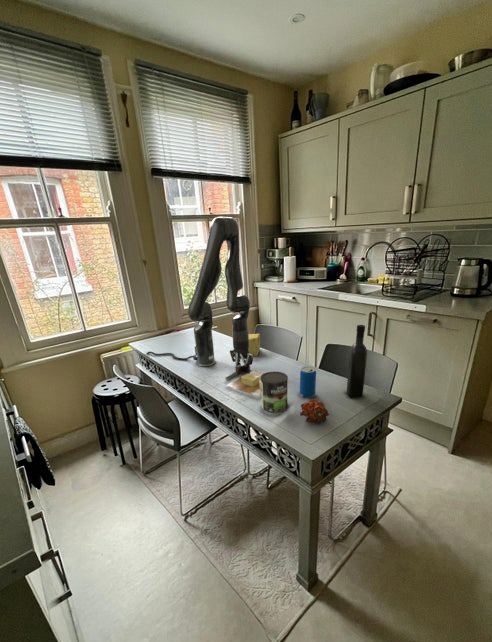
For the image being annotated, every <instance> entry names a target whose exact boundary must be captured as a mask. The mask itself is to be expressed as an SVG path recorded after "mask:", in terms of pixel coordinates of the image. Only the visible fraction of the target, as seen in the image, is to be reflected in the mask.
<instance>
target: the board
mask: <svg viewBox="0 0 492 642" xmlns="http://www.w3.org/2000/svg"><path fill="white" fill-rule="evenodd" d="M247 373H248V374H251V375H254V376H258V377H259V382H260V383H261V375H262V374H264V373H265V372H262V371H259V370H255V369H253V370H251V371H249V372H247ZM260 383H259V384H257V385H255V386H254V387H252V386H249V385H246V384H243V383H241V377H239V378H237V379H235V380H233V381H232V382H230V383H229V384H226V386H227V387H230V388H231V389H235V390H238V391H241V392H243V393H246V394H249V395H252V396H255V397H260V396H262V394H261V387H260Z"/></svg>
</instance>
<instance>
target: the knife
mask: <svg viewBox="0 0 492 642" xmlns="http://www.w3.org/2000/svg"><path fill="white" fill-rule="evenodd" d="M240 363H241V364H239V365H238V366H236V365H235V366H234V369H235V371H234V372H232V373H231V374H228V375H227V376H225V381H228V380H229V379H232V378H234V377H235V376H237V375H242V374H243V373H245V371H244V363H243V362H240ZM250 368H251V365H250V366H249V370H250Z"/></svg>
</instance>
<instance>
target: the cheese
mask: <svg viewBox="0 0 492 642" xmlns="http://www.w3.org/2000/svg"><path fill="white" fill-rule="evenodd" d="M248 337H249V348H248V351H249V353H250V354H254V357H257V356H258V354H259V352H260V350H261V335H260V333H248Z"/></svg>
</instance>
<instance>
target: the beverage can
mask: <svg viewBox="0 0 492 642" xmlns="http://www.w3.org/2000/svg"><path fill="white" fill-rule="evenodd" d="M316 386H317V371H316V368H315V367H313V366H302V367H301V369H300V371H299V393H300V394H301V395H302V398H305V399H311V398H313V397H315V395H316Z"/></svg>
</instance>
